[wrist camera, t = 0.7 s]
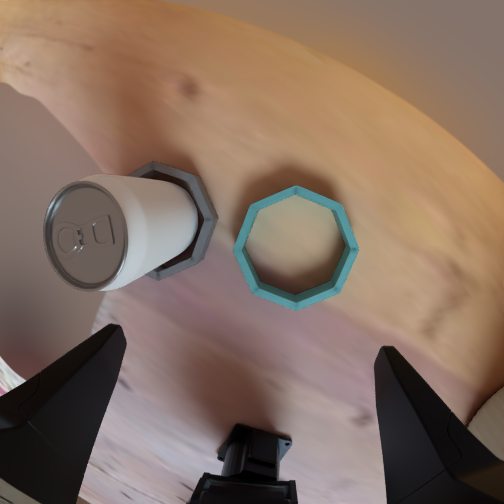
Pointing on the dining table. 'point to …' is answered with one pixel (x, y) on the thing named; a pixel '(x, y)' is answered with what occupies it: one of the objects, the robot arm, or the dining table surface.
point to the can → (116, 229)
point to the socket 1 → (204, 206)
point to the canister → (490, 424)
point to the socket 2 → (312, 294)
